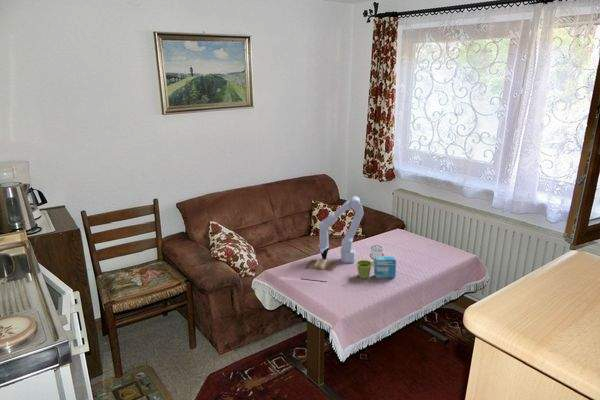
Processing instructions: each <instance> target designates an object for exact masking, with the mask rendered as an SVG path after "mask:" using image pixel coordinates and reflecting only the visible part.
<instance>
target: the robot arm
mask: <svg viewBox="0 0 600 400" xmlns="http://www.w3.org/2000/svg"><path fill="white" fill-rule="evenodd" d="M352 210H353V211H354V213H355V214H354V216H353V218H352V220H351V223H350V225H349V228H348V230H347V233H346V234H345V235H344V237H343V238H342V239H341V248H340V261H341V262H342V263H346V264H347V263H350V264H355V262H357V261H356V259H357V255H356V253H357V251H356V250H355V249H353V248H352V245H353V240H354V237H355V235H356V233H357V231H358V228H359V226H360V223H361V222H362V219H363V216H364V214H365V212H364V208H363V203H362V200H361V199H360V197H358V196H357V195H353V196H351V197H350V198H349V199H347V200H346V201H345V202H344V203H343V204H342V205H341V206H340V207H339V208H338V209H337V210H336V211H335V212H333V213H332V212H331V213H329V214H328V215H327V217H326V218H325V219H322V221H321V222H320V223H319V226H318V229H319V233H318V234H319V244H318V245H317V248H319V254H321V259H327V257H328V252H329V250H330V245H329V242H330V241H329V228H330V227H332V226H333V225H334V224H335V223H336V222H337V221H338V218H339V217H340V216H341V215H342V214H344V213H345V212H346V211H352Z"/></svg>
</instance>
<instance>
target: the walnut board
mask: <svg viewBox="0 0 600 400" xmlns="http://www.w3.org/2000/svg"><path fill="white" fill-rule="evenodd" d="M317 261H318V259H317V260H316V259H309V261H308V263H307V265H305V267H304V269H308V270H317V271H325V272H326V271H327V272H334V270H335V268H336V266H337V264H338V261H329V260H328V263H327V265H326V267H325V268H324V269H318V268H315V264H316V262H317Z"/></svg>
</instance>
